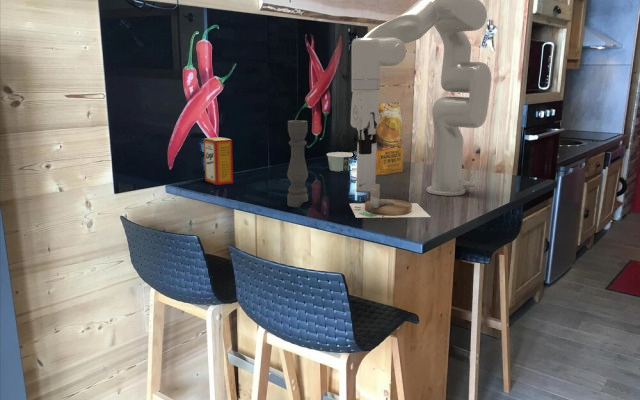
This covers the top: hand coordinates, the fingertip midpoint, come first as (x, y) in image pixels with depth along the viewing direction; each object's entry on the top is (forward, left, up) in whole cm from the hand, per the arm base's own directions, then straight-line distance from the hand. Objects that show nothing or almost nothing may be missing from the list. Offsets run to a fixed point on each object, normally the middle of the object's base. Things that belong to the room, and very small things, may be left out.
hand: (365, 153), depth 149 cm
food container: (-1, -74, -17) cm, 76 cm away
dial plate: (-7, +2, -17) cm, 18 cm away
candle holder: (+18, -11, -17) cm, 27 cm away
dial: (-5, +3, -15) cm, 17 cm away
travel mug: (-5, -28, -17) cm, 33 cm away
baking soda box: (+46, -48, -17) cm, 69 cm away
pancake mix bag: (-19, -66, -17) cm, 71 cm away
